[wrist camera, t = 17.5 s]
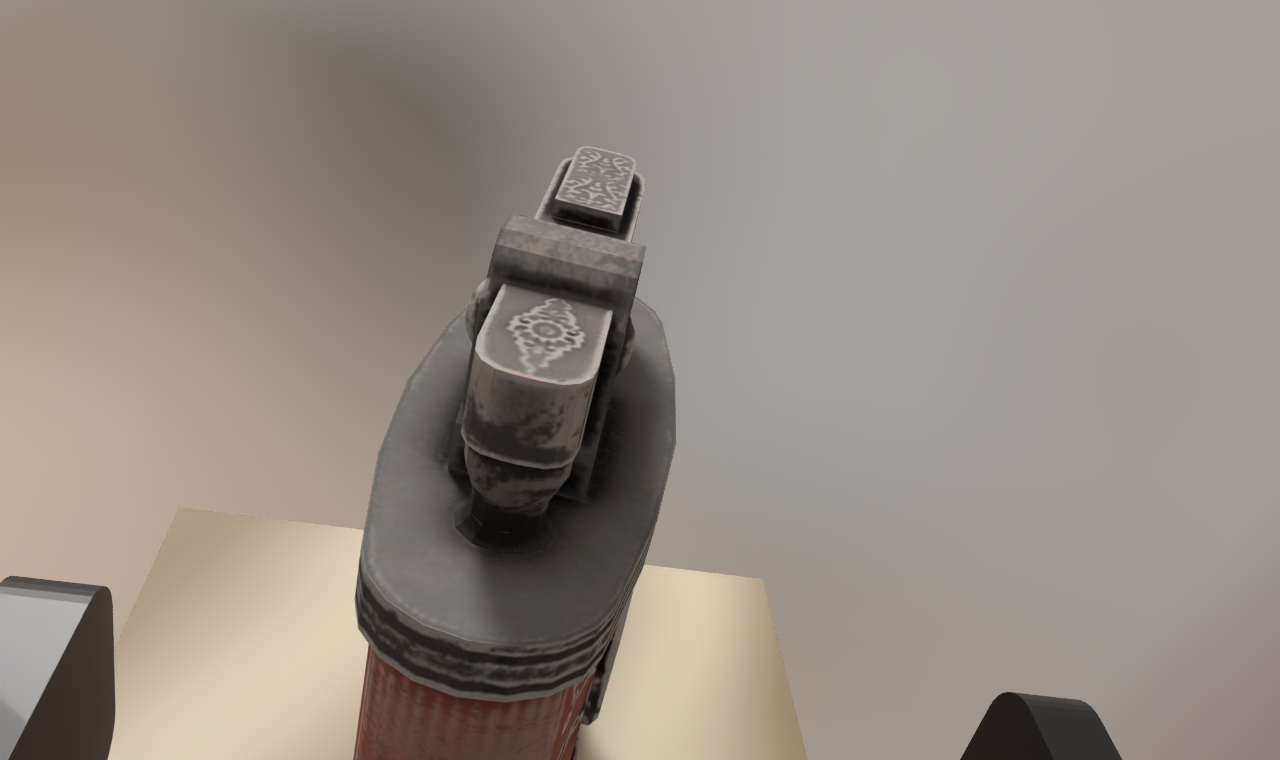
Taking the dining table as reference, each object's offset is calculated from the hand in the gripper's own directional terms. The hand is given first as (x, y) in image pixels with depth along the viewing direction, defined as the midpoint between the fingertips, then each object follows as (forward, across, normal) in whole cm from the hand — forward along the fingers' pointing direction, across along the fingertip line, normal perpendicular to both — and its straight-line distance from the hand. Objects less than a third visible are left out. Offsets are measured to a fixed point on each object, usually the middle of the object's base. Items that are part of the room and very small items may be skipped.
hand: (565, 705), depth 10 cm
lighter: (+4, 0, +7) cm, 9 cm away
